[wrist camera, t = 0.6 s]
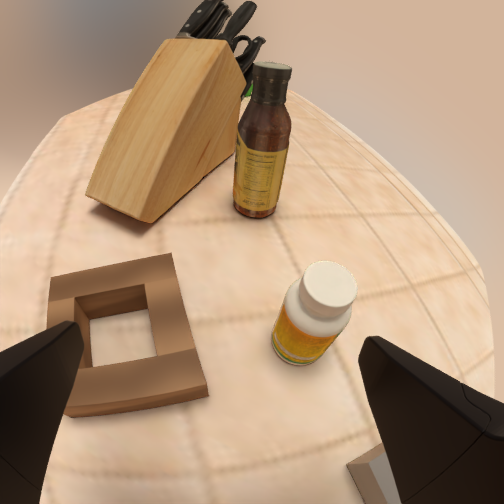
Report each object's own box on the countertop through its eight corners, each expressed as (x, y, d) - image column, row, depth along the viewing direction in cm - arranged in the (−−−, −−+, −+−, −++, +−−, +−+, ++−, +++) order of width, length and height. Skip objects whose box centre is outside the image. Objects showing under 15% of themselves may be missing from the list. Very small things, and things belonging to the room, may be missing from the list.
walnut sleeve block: (208, 395, 21) (206, 383, 18) (71, 417, 17) (49, 407, 14) (175, 278, 29) (171, 252, 26) (65, 300, 25) (50, 277, 22)
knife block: (257, 138, 55) (277, -2, 33) (143, 238, 32) (125, -37, 10) (211, 126, 58) (222, -3, 35) (88, 211, 35) (58, -5, 12)
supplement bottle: (277, 311, 27) (300, 244, 20) (327, 324, 27) (366, 263, 20) (264, 359, 24) (286, 303, 17) (320, 372, 23) (366, 323, 16)
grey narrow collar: (454, 478, 14) (481, 473, 11) (382, 538, 11) (407, 544, 8) (423, 411, 20) (448, 400, 17) (346, 464, 17) (368, 462, 14)
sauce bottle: (246, 188, 41) (262, 58, 27) (283, 203, 40) (311, 68, 25) (222, 210, 37) (232, 61, 23) (262, 228, 36) (290, 71, 21)
